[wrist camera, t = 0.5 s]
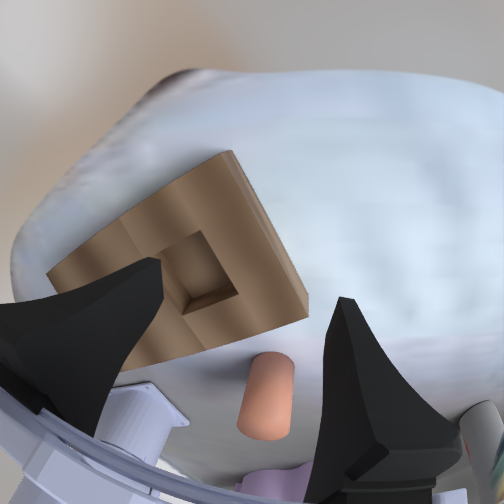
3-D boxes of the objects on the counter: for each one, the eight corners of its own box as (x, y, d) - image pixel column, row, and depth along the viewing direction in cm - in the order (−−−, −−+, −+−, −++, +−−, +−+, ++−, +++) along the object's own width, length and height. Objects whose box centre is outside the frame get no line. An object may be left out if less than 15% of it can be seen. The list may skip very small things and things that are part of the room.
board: (130, 354, 29) (117, 372, 26) (64, 261, 25) (45, 274, 23) (308, 294, 22) (308, 317, 20) (231, 150, 19) (220, 153, 16)
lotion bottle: (469, 428, 27) (497, 540, 9) (451, 422, 27) (479, 549, 8) (499, 403, 25) (537, 517, 6) (483, 395, 24) (525, 525, 6)
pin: (263, 385, 27) (252, 443, 21) (243, 358, 26) (227, 417, 20) (301, 375, 26) (297, 436, 19) (283, 346, 25) (275, 409, 18)
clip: (318, 448, 31) (316, 493, 25) (367, 471, 33) (369, 508, 27) (223, 478, 39) (215, 510, 32) (275, 498, 41) (270, 528, 34)
